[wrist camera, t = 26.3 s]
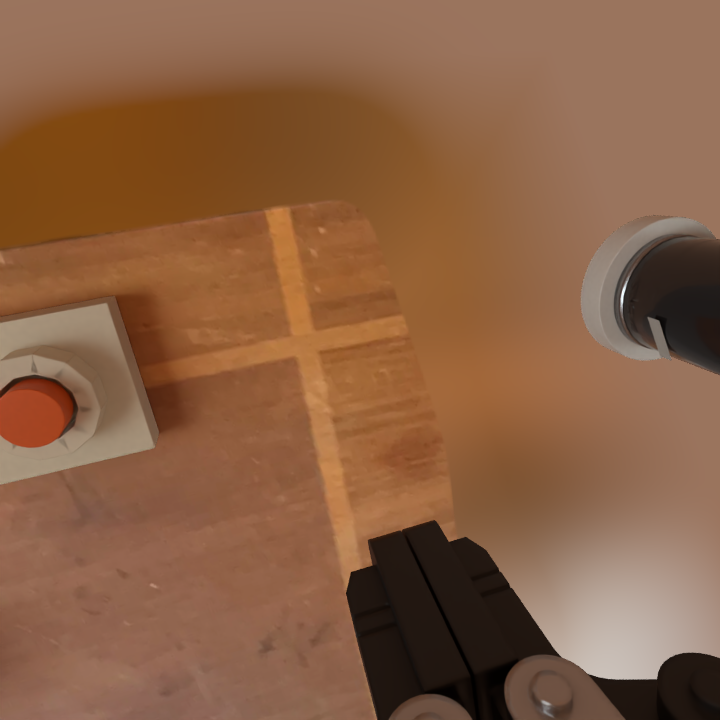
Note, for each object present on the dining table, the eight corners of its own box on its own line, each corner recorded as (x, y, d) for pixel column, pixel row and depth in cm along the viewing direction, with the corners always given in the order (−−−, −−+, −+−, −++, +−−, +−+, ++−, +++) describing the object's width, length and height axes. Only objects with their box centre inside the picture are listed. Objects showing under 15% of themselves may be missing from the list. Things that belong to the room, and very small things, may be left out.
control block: (114, 295, 32) (99, 309, 29) (159, 433, 36) (151, 461, 32) (-59, 327, 31) (-99, 347, 27) (6, 469, 34) (-22, 503, 31)
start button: (61, 371, 30) (51, 382, 28) (82, 426, 31) (74, 439, 29) (-6, 385, 29) (-20, 397, 27) (18, 441, 30) (6, 455, 29)
